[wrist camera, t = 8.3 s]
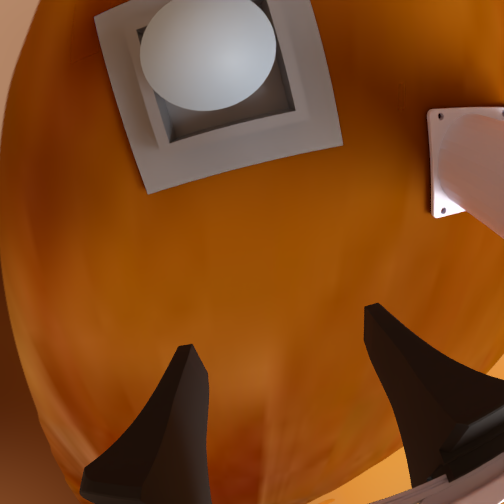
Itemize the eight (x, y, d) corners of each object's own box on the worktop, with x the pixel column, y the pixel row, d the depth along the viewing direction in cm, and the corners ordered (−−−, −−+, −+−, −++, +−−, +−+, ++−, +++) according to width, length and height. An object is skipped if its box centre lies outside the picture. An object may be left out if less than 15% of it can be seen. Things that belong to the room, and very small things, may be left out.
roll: (250, 21, 13) (264, -19, 7) (263, 95, 15) (285, 99, 9) (168, 37, 13) (131, 8, 7) (182, 110, 16) (153, 124, 10)
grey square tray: (294, -36, 12) (303, -52, 9) (339, 143, 18) (355, 152, 15) (97, 18, 13) (79, 11, 10) (150, 191, 18) (139, 206, 16)
